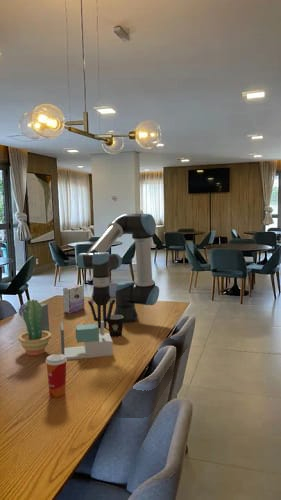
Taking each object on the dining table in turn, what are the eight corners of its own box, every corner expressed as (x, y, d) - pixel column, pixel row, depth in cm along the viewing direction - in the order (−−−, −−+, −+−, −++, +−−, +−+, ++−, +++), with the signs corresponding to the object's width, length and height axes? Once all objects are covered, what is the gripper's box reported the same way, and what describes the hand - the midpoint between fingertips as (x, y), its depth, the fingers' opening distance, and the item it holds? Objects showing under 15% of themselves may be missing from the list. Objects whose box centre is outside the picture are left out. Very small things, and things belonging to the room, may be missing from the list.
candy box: (78, 307, 260) (77, 284, 258) (84, 309, 257) (84, 285, 255) (63, 312, 249) (62, 287, 247) (69, 313, 246) (69, 288, 244)
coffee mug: (126, 333, 206) (126, 315, 205) (119, 338, 198) (118, 320, 197) (107, 330, 211) (107, 313, 210) (99, 335, 203) (99, 317, 202)
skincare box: (43, 336, 203) (42, 307, 202) (31, 335, 205) (29, 306, 203) (50, 331, 212) (49, 303, 210) (38, 330, 213) (37, 302, 211)
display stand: (108, 346, 188) (108, 318, 186) (112, 355, 177) (112, 325, 175) (61, 350, 183) (60, 322, 181) (62, 360, 171) (61, 330, 170)
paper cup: (48, 389, 144) (47, 353, 142) (69, 388, 145) (67, 352, 143) (45, 399, 136) (43, 362, 135) (66, 398, 137) (65, 361, 135)
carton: (96, 335, 183) (96, 323, 183) (99, 340, 177) (98, 328, 176) (76, 337, 181) (75, 325, 180) (77, 342, 174) (76, 330, 174)
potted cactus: (24, 345, 190) (22, 296, 187) (55, 345, 189) (53, 296, 186) (13, 357, 174) (11, 304, 172) (47, 358, 174) (45, 304, 171)
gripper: (88, 288, 172) (89, 338, 175) (116, 286, 176) (117, 335, 178) (86, 284, 180) (87, 333, 182) (113, 283, 183) (114, 330, 185)
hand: (102, 334), depth 180 cm, fingers closed
